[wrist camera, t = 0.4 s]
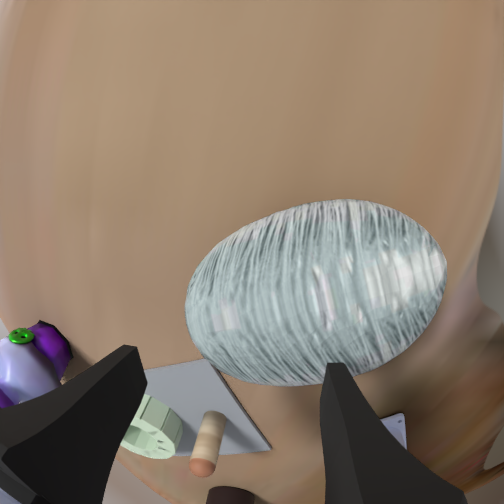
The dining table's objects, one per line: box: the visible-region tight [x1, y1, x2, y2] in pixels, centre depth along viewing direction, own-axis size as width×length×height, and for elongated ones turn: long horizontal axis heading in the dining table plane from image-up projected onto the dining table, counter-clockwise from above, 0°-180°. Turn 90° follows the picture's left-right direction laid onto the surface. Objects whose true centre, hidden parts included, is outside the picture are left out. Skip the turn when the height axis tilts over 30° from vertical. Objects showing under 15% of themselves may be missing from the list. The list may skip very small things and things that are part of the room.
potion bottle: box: [0, 320, 73, 408], centre depth 20 cm, size 9×9×12 cm
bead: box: [120, 394, 183, 459], centre depth 26 cm, size 8×8×3 cm
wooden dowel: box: [189, 411, 227, 477], centre depth 22 cm, size 2×2×7 cm
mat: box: [144, 359, 271, 456], centre depth 27 cm, size 14×16×1 cm
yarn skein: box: [185, 199, 447, 386], centre depth 16 cm, size 14×10×10 cm
